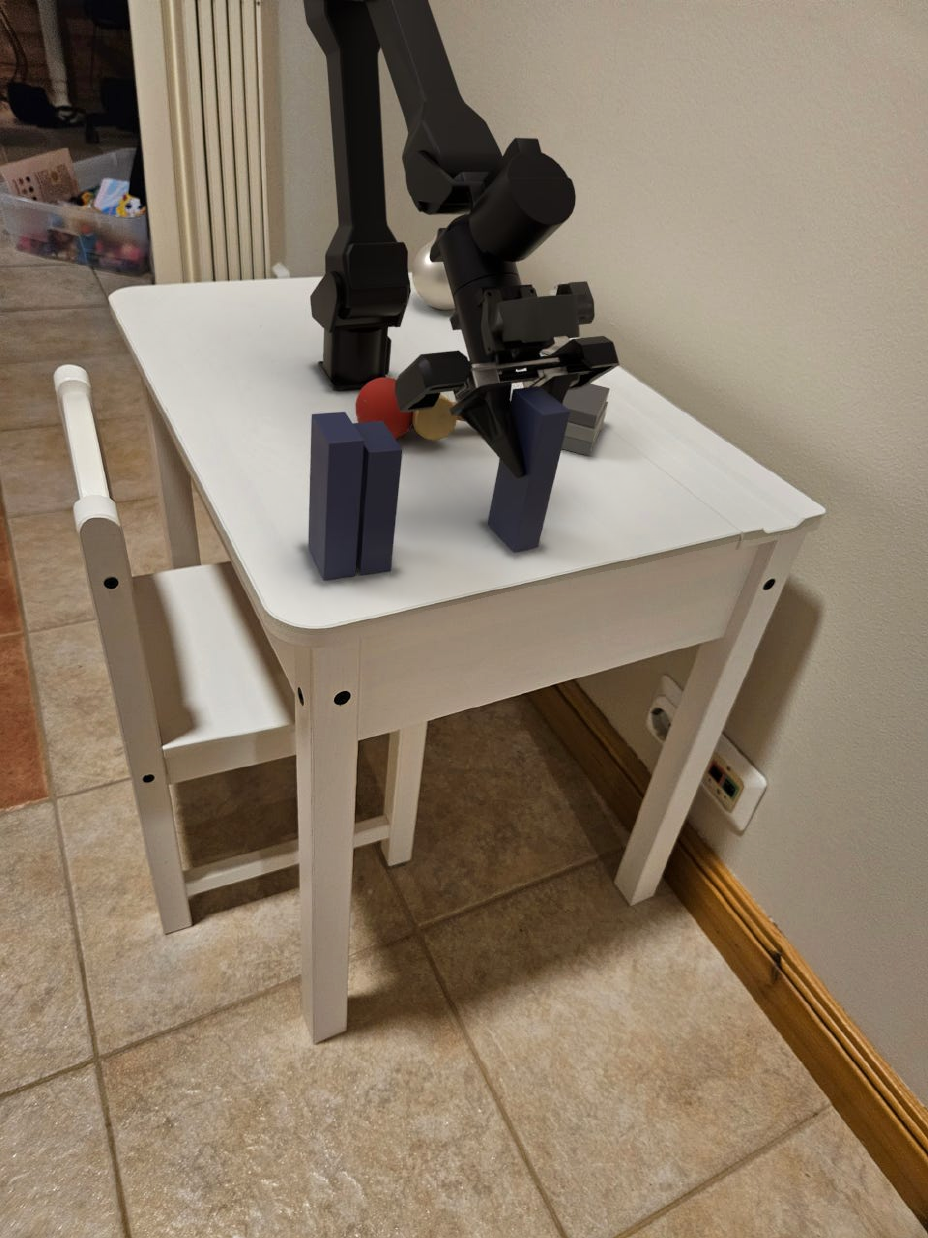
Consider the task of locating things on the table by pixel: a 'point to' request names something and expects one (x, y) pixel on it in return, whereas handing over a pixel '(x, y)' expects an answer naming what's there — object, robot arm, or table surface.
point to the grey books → (584, 417)
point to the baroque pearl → (431, 280)
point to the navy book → (529, 469)
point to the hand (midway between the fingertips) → (536, 473)
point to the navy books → (352, 495)
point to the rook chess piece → (558, 340)
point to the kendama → (382, 406)
